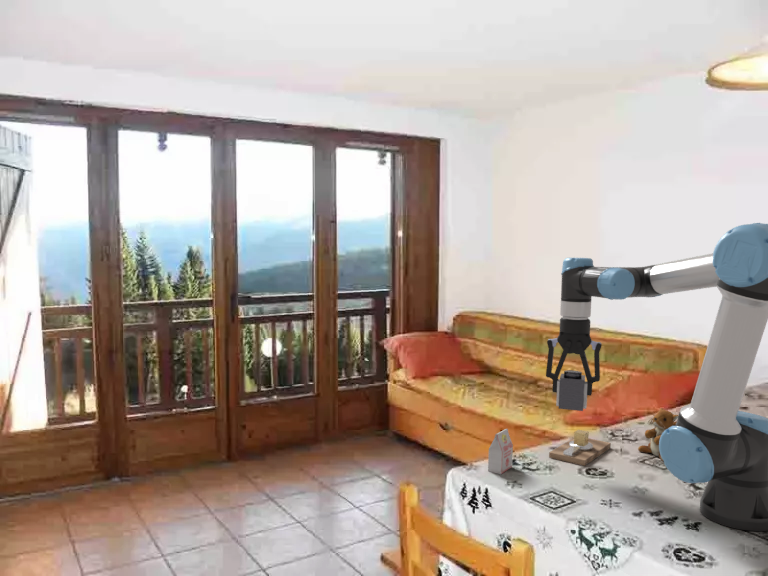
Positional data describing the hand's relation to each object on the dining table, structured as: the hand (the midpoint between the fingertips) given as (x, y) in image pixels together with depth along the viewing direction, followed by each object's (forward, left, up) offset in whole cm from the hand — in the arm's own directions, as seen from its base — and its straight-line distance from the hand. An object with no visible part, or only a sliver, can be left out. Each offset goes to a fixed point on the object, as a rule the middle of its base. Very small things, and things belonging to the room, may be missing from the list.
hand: (571, 405), depth 169 cm
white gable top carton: (-12, +14, -17) cm, 25 cm away
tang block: (+15, +3, -17) cm, 23 cm away
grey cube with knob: (0, 0, 0) cm, 0 cm away
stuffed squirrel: (+30, -17, -17) cm, 39 cm away
